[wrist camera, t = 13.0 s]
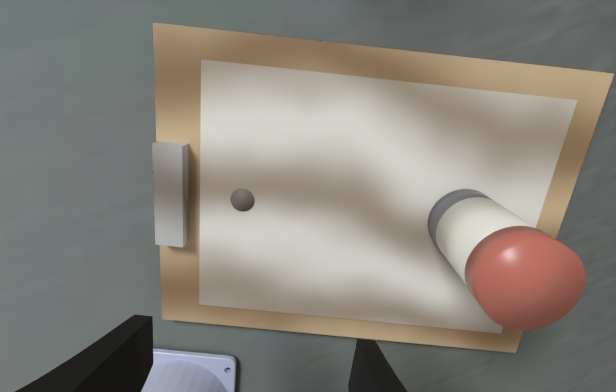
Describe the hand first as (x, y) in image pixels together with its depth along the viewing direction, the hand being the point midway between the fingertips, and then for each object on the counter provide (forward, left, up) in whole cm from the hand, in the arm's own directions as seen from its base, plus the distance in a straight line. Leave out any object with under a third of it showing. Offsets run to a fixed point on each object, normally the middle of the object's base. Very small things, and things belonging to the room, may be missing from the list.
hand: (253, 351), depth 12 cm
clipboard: (+2, -5, -10) cm, 11 cm away
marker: (+2, -11, -9) cm, 14 cm away
